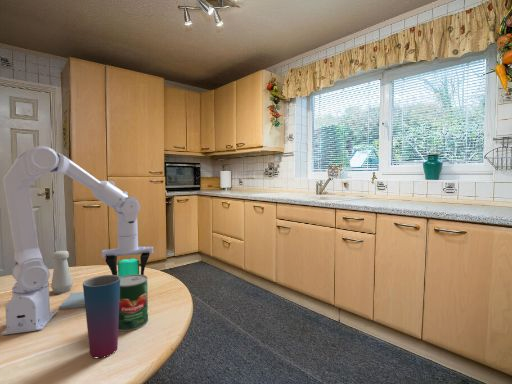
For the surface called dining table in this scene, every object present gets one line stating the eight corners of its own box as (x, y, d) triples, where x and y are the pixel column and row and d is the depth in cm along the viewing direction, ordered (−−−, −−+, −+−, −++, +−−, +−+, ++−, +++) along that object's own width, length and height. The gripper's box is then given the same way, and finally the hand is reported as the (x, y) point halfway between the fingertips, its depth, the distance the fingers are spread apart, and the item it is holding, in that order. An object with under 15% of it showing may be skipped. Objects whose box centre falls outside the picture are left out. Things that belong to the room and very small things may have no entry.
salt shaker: (77, 288, 95) (75, 249, 94) (64, 295, 89) (62, 253, 88) (60, 287, 95) (59, 249, 95) (46, 294, 89) (44, 253, 89)
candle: (139, 296, 88) (138, 257, 87) (117, 299, 86) (116, 259, 85) (139, 289, 93) (138, 252, 93) (119, 291, 91) (118, 254, 91)
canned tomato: (126, 334, 66) (125, 287, 65) (107, 325, 70) (105, 281, 69) (155, 320, 73) (154, 277, 72) (135, 312, 77) (134, 272, 76)
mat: (99, 304, 82) (99, 302, 82) (59, 309, 79) (59, 306, 79) (107, 291, 91) (107, 289, 91) (71, 295, 88) (71, 293, 88)
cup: (127, 341, 63) (125, 274, 62) (113, 361, 56) (110, 286, 56) (96, 342, 63) (94, 275, 62) (77, 361, 56) (75, 286, 55)
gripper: (153, 231, 95) (154, 271, 95) (104, 234, 90) (106, 276, 91) (152, 235, 88) (153, 278, 88) (99, 238, 84) (101, 284, 84)
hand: (129, 278), depth 89 cm, fingers open, 7 cm apart
